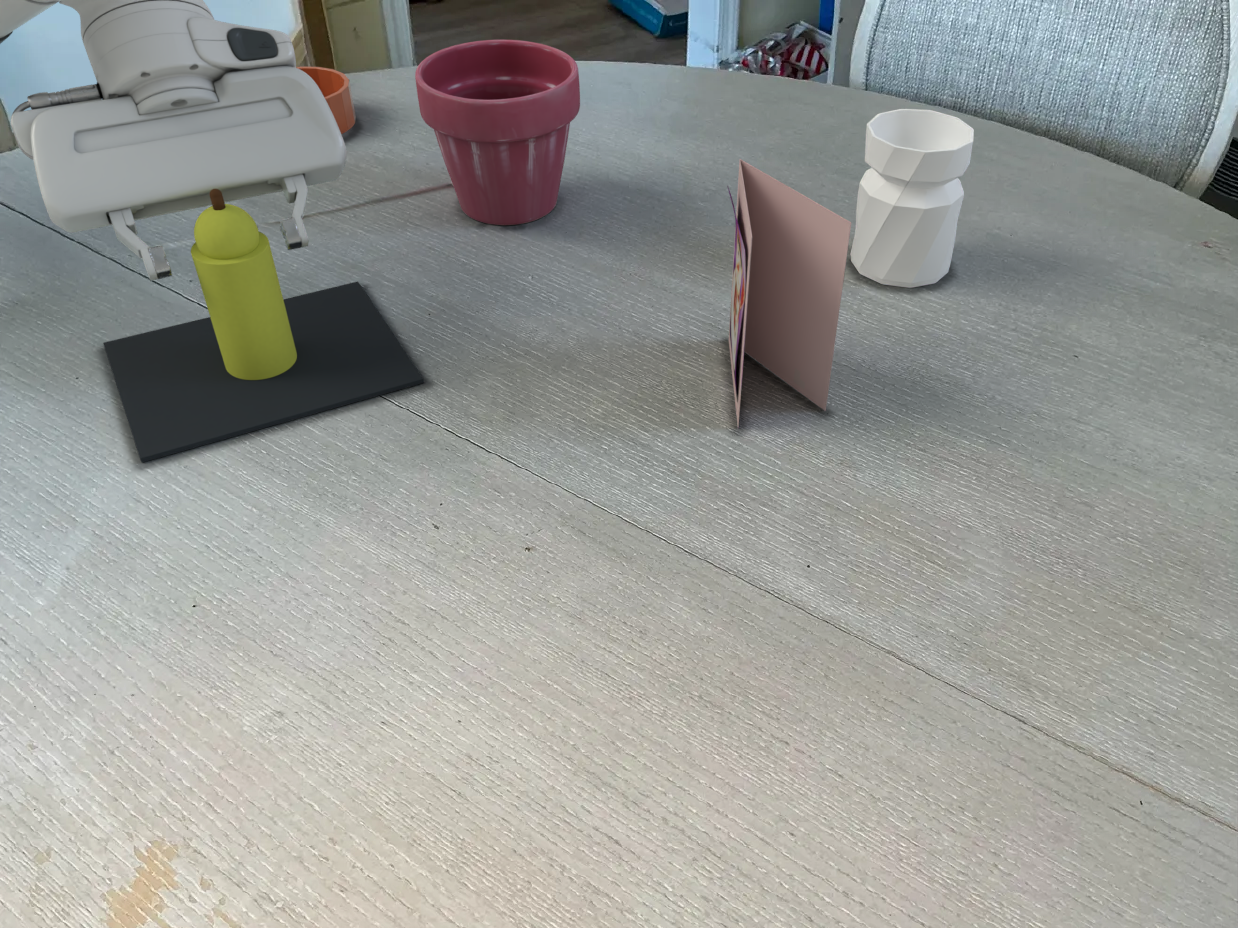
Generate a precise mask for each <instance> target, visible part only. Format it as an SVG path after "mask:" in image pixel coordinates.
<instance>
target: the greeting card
mask: <svg viewBox="0 0 1238 928" xmlns="http://www.w3.org/2000/svg"><path fill="white" fill-rule="evenodd" d="M727 190H728V193H729V198H730V202H731V205H732V209H733V213H734V219H735V222H734V223H735V228H734V242H733V243H734V245H733V261H732V275H731V277H732V278H731V294H730V295H731V296H730V307H729V308H730V309H729V327H728V347H729V348H728V349H729V357H730V366H731V367H730V368H731V374H732V385H733V395H734V404H735V413H736V424H737V429H739V425H740V411H741V400H742V399H741V398H742V387H743V386H742V385H743V372H744V371H743V370H744V357H745V354H747V355H748V356H749V357H751V358H752V359H754V360H755V361H756V362H758V363H759V364H761V365H762V366H763V367H765V368H766V369H767V370H769V371H770V372H771V373H772V374H774V375H775V376H777V377H778V378H780V379H781V380H782V381H783V382H784V383H786V384H787V385H789V387H791V388H793V389H794V390H796V391H797V392H799V393H800V394H801V395H803V396H804V397H805V398H807V399H808V400H809V401H811V402H812V403H814V404H815V405H816V406H817V407H819V408H820V409H821V410H823V411H824V412H826V411H827V403H828V397H829V389H830V383H831V376H832V375H831V374H832V368H833V361H834V353H835V345H836V339H837V331H838V323H839V318H840V309H841V302H842V296H843V295H842V294H843V287H844V280H845V273H846V266H847V258H848V251H849V244H850V237H851V229H852V222H851V221H850V220H848V219H847V218H845V217H842V216H841V215H839V214H838V213H836V212H834V211H832V210H831V209H829V208H827V207H825V206H823V205H821V204H820V203H819V202H816V201H814V200H813V199H811V198H809V197H808V196H806V195H804V194H802V193H801V192H799V191H797V190H796V189H793V188H792V187H790V186H789V185H787V184H785V183H783V182H782V181H780V180H778V179H776V178H775V177H773V176H771V175H769V174H768V173H766V172H764V171H762V170H760V169H759V168H757V167H756V166H753V165H751V164H750V163H748V162H746V161H744V160H743V159H741V158H739V161H738V179H737V196H736V208H735V205H734V204H735V203H734V200H733V196H732V194H731V190H730V188H729V185H727Z"/></svg>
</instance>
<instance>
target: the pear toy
mask: <svg viewBox="0 0 1238 928" xmlns="http://www.w3.org/2000/svg"><path fill="white" fill-rule="evenodd" d="M209 195H210V199H211V202H212V205H210V206H208V207H207V208H206V209H204V210H203V211H202V212H201V213H200V214H199V215H198V217H197V218H196V221H195V224H194V226H193V227H194V228H193V235H194V236H193V237H194V241H195V242H194V243H193V244H192V246H191V247H190V254H191V259H192V262H193V264H194V267H195V272H196V275H197V278H198V281H199V285H200V287H201V291H202V295H203V298H204V301H205V304H206V308H207V311H208V315H209V317H210V318H211V321H212V324H213V328H214V331H215V334H216V338H217V341H218V344H219V347H220V351H221V354H222V357H223V361H224V364H225V367H226V370H227V371H228V372H229V374H231V375H232V376H234V377H236V378H239V379H244V380H262V379H267V378H271V377H274V376H277V375H280V374H282V373H284V372H285V371H287V370H288V369H290V368H291V367H292V366H293V364H294V363H295V361H296V359H297V352H296V348H295V344H294V340H293V336H292V332H291V328H290V324H289V320H288V316H287V312H286V308H285V304H284V300H283V299H284V297H283V293H282V289H281V284H280V281H279V277H278V271H277V268H276V264H275V261H274V256H273V252H272V249H271V244H270V240H269V238H268V236H267V235H266V234H265V233H263V232H261V231H259V228H258V225H257V223H256V221H255V220H254V218H253V217H252V216H251V215H250V214H249V213H248V212H247V211H246V210H245V209H243V208H241V207H239V206H237V205H233V204H230V203H226V202H225V203H224V199H223V195H222V192H221V191H220V190H219V189H212V190H211V191H210V193H209Z"/></svg>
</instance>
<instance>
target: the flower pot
mask: <svg viewBox="0 0 1238 928" xmlns="http://www.w3.org/2000/svg"><path fill="white" fill-rule="evenodd" d="M414 73H415V74H414V75H415V76H414V78H415V87H416V95H417V101H418V107H419V113H420V117H421V118H422V120H423V122H424V123H425V124H426V125H427V126H428V127H430V128H431V129H432V130H433V132H434V134H435V138H436V141H437V144H438V147H439V150H440V153H441V156H442V158H443V161H444V164H445V167H446V170H447V173H448V175H449V178H450V181H451V184H452V187H453V190H454V192H455V194H456V198H457V200H458V203H459V207H460V208H461V210H462V212H463V213H464V214H465V215H466V216H467V217H469V218H470V219H472V220H475V221H477V222H479V223H484V224H488V225H495V226H514V225H523V224H528V223H532V222H534V221H537V220H540V219H542V218H544V217H545V216H547V215H549V214H550V213H551V212H552V211H553V210H554V209H555V208H556V205H557V202H558V196H559V191H560V187H561V182H562V175H563V172H564V171H563V170H564V166H565V165H564V164H565V158H566V153H567V146H568V140H569V133H570V126H571V122H573V120H574V119H576V117H577V116H578V115H579V112H580V108H581V88H580V87H581V86H580V75H579V73H580V71H579V67H578V63H577V61H576V60H575V59H574V58H573V57H572V56H571V55H570V54H568V53H566V52H565V51H563V50H561V49H558V48H556V47H553V46H550V45H547V44H544V43H539V42H533V41H528V40H519V39H485V40H476V41H470V42H464V43H458V44H455V45H451V46H447V47H445V48H441V49H440V50H437V51H435V52H433V53H432V54H430V55H428V56H426V57H425V58H424V59H423V60H422V61H421V62H419V64H418V66H416V70H415V72H414Z"/></svg>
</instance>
